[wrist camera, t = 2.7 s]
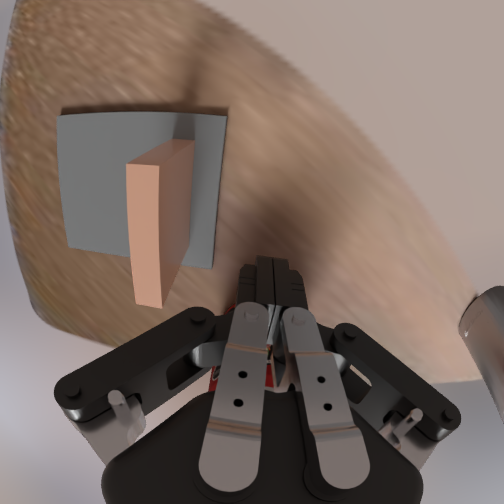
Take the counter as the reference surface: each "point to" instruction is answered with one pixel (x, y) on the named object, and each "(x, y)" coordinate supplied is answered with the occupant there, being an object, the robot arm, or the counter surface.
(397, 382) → the robot arm
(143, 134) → the mat
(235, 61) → the counter surface
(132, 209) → the block
